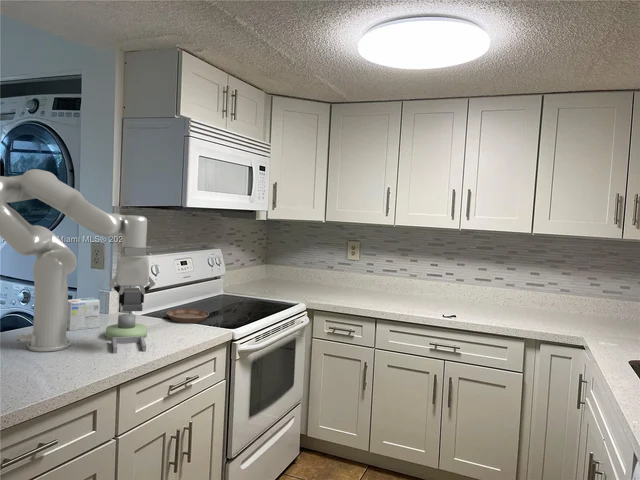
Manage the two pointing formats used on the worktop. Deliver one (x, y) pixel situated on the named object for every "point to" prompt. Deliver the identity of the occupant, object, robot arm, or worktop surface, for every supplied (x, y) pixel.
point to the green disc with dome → (126, 332)
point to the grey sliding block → (132, 300)
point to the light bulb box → (83, 313)
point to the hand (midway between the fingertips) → (131, 304)
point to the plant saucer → (187, 315)
